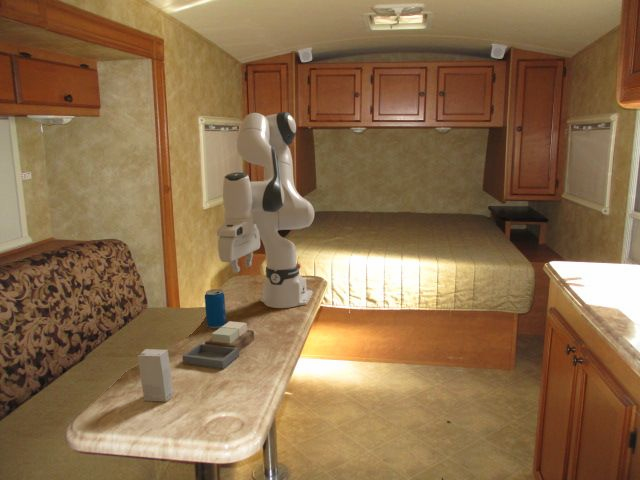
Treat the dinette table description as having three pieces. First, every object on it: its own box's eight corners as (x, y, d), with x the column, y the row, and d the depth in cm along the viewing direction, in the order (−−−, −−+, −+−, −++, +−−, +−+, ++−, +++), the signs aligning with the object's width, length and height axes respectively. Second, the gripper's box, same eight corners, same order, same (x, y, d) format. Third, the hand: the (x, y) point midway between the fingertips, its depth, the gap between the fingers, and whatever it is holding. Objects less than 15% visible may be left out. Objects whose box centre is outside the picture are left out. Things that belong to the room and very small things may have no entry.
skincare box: (174, 394, 130) (169, 348, 127) (165, 403, 125) (160, 356, 123) (151, 392, 131) (146, 347, 128) (142, 401, 127) (137, 355, 124)
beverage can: (222, 329, 172) (219, 294, 169) (203, 328, 173) (200, 294, 170) (229, 322, 178) (226, 289, 175) (211, 321, 179) (208, 288, 177)
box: (200, 351, 155) (200, 343, 155) (239, 356, 151) (238, 348, 150) (183, 363, 147) (182, 355, 146) (223, 369, 142) (222, 361, 142)
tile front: (221, 335, 159) (220, 327, 158) (238, 337, 157) (238, 329, 156) (212, 341, 154) (211, 333, 154) (230, 343, 152) (229, 335, 152)
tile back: (230, 328, 164) (229, 321, 163) (247, 330, 162) (246, 323, 161) (222, 334, 159) (221, 326, 159) (239, 336, 157) (238, 328, 157)
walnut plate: (226, 336, 166) (225, 327, 165) (254, 339, 162) (253, 330, 162) (205, 351, 155) (204, 342, 154) (235, 355, 151) (234, 345, 151)
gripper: (246, 220, 172) (249, 260, 174) (213, 231, 153) (216, 277, 156) (263, 220, 169) (266, 261, 172) (232, 232, 151) (235, 278, 153)
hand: (242, 269), depth 164 cm, fingers open, 6 cm apart
